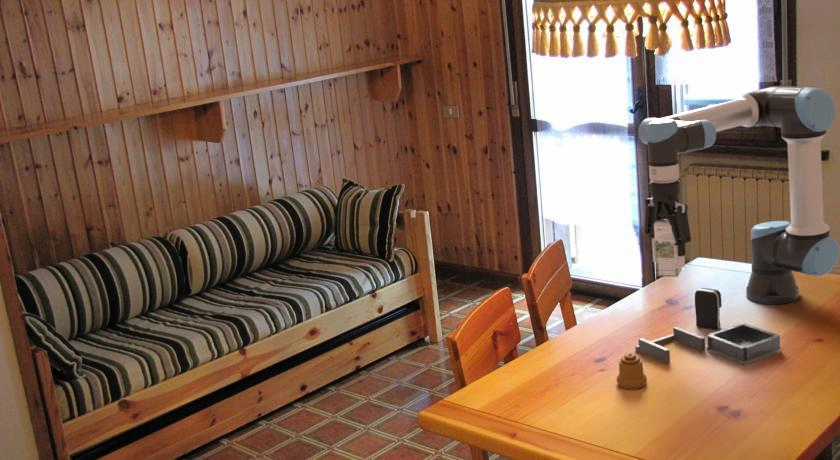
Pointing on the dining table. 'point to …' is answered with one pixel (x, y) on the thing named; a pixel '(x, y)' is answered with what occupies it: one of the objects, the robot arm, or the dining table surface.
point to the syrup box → (665, 249)
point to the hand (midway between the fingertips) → (668, 263)
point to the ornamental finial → (631, 372)
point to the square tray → (744, 343)
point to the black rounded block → (708, 308)
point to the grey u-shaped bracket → (679, 336)
